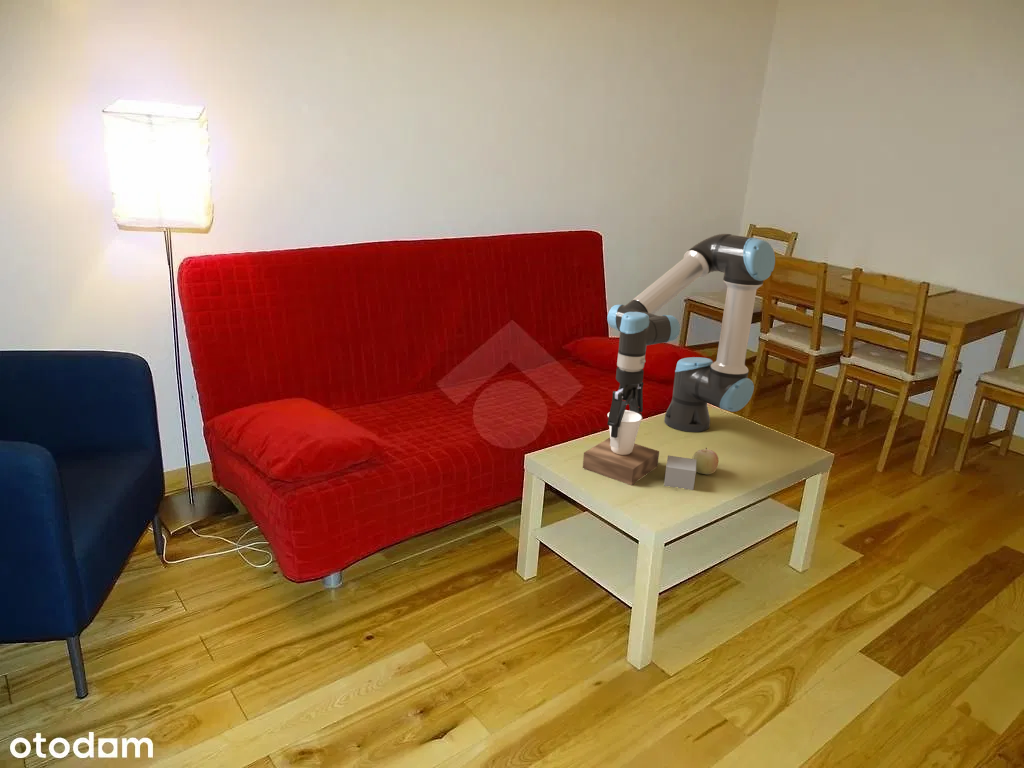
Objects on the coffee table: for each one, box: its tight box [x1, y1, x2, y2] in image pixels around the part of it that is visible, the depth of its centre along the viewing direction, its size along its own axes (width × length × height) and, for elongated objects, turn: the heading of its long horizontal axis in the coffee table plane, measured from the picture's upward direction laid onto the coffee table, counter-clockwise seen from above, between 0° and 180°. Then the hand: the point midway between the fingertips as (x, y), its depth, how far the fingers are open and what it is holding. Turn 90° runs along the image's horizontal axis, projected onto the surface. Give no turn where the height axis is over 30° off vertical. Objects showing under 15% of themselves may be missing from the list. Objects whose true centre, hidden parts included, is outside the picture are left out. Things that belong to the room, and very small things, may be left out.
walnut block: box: [582, 437, 660, 486], centre depth 208 cm, size 16×16×5 cm
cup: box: [607, 409, 643, 455], centre depth 206 cm, size 10×10×11 cm
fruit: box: [691, 447, 719, 475], centre depth 207 cm, size 8×7×8 cm
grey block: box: [663, 454, 697, 491], centre depth 201 cm, size 8×8×6 cm
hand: (623, 441), depth 207 cm, fingers closed on cup, 9 cm apart
